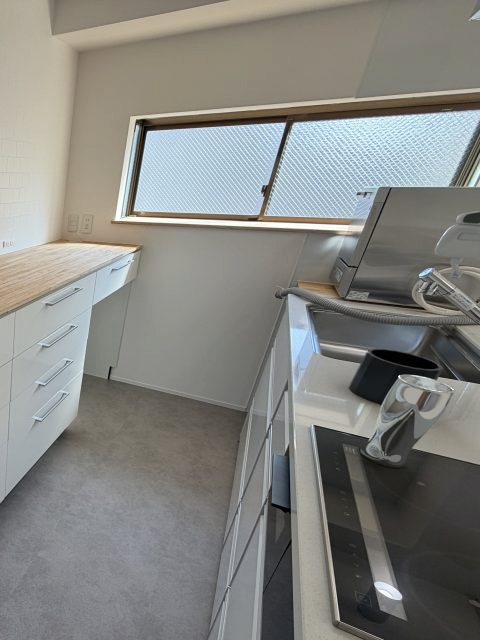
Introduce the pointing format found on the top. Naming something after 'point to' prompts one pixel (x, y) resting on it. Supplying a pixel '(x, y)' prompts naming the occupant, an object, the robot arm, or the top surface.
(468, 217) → the robot arm
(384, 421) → the beer glass
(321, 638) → the top surface
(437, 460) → the top surface
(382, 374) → the pot
